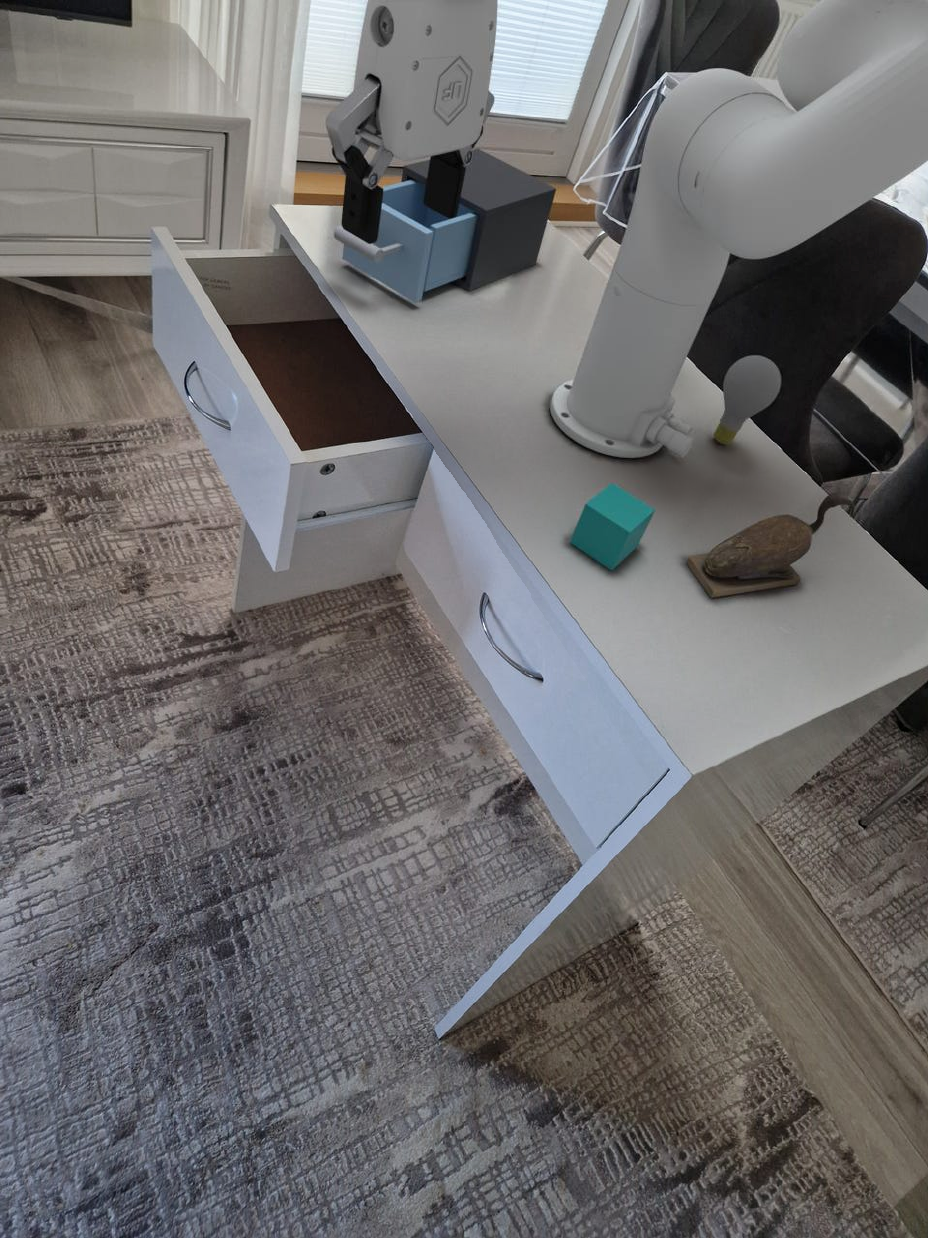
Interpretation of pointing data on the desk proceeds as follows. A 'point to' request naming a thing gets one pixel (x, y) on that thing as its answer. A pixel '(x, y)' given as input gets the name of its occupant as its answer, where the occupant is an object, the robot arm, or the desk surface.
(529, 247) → the drawer cabinet
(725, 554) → the figurine
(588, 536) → the teal cube
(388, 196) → the blue drawer
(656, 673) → the desk surface
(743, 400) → the light bulb
